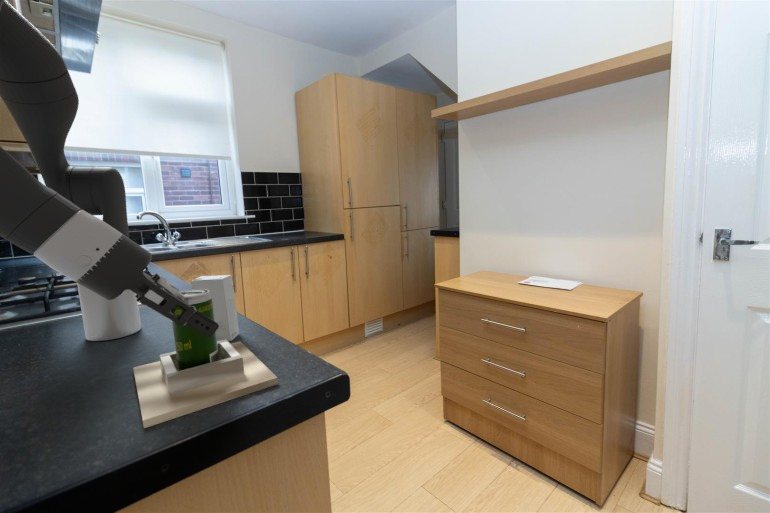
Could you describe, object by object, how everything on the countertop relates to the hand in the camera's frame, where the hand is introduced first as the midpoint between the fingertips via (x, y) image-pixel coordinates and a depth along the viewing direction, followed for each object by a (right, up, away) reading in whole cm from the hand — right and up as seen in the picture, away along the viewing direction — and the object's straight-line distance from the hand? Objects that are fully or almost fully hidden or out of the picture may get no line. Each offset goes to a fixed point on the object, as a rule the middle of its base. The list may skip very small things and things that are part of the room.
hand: (208, 324), depth 54 cm
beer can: (-1, -7, 0) cm, 7 cm away
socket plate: (-1, -8, 0) cm, 8 cm away
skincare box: (-6, -6, +17) cm, 19 cm away
